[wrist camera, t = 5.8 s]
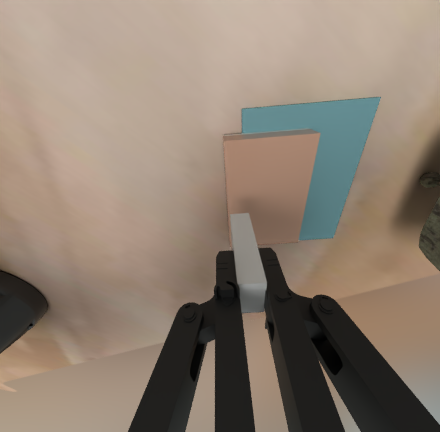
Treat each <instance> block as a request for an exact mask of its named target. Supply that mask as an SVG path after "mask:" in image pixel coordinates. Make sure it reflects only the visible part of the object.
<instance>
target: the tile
mask: <svg viewBox="0 0 440 432" xmlns="http://www.w3.org/2000/svg"><path fill="white" fill-rule="evenodd" d="M319 138H320V133H319V132H317V131H314V130H312V129H310V128H301V129H289V130H277V131H265V132H253V133H241V134H229V135H223V146H224V162H225V179H226V195H227V211H228V227H229V240H230V247H232V240H231V221H230V214H240V213H249V215H250V219H251V223H252V227H253V231H254V235H255V238H256V242H257V245H265V244H280V243H296V242H298V240H299V235H300V230H301V225H302V220H303V216H304V211H305V206H306V201H307V196H308V191H309V187H310V182H311V177H312V172H313V167H314V162H315V158H316V153H317V148H318V143H319Z"/></svg>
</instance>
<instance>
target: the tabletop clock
mask: <svg viewBox="0 0 440 432" xmlns="http://www.w3.org/2000/svg"><path fill="white" fill-rule="evenodd" d="M420 184H421V185H422V186H424V187H428V188H429V187H435V186H440V174H438V173H435V172H432V173H426V174H424V175H423V176H422V177H421V178H420ZM419 248H420V249H421V251H422V252H423V253H424V255H425V256H426V258H427V259H428V260H429V261H430V262H431V263H432V264H433V265H434V266H435V267H436V268H437V269H438V270H439V271H440V197H439V198H438V200H437V202H436V204H435V206H434V208H433V210H432V211H431V213H430V215H429V217H428V219H427V221H426V223H425V225H424V227H423V229H422V231H421V234H420V239H419Z"/></svg>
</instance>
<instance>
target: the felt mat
mask: <svg viewBox="0 0 440 432" xmlns="http://www.w3.org/2000/svg"><path fill="white" fill-rule="evenodd" d="M380 98H381V97H373V98H362V99H350V100H338V101H327V102H315V103H304V104H292V105H280V106H269V107H257V108H246V109H242V133H253V132H265V131H277V130H289V129H301V128H310V129H312V130H314V131H317V132H319V133H320V138H319V143H318V148H317V153H316V158H315V162H314V167H313V172H312V177H311V182H310V187H309V191H308V196H307V201H306V206H305V211H304V216H303V220H302V225H301V230H300V235H299V240H311V239H327V238H333V237H334V234H335V231H336V228H337V225H338V222H339V219H340V216H341V213H342V210H343V207H344V204H345V202H346V199H347V196H348V193H349V190H350V187H351V184H352V181H353V178H354V175H355V172H356V169H357V166H358V163H359V160H360V157H361V154H362V151H363V148H364V146H365V143H366V140H367V137H368V134H369V131H370V128H371V125H372V122H373V119H374V116H375V113H376V110H377V107H378V104H379V101H380Z"/></svg>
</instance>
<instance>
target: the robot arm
mask: <svg viewBox="0 0 440 432" xmlns="http://www.w3.org/2000/svg"><path fill="white" fill-rule="evenodd" d="M230 221H231V240H232V250H233V251H219V253H218V255H217V257H216V285H215V288H214V296H213V298H212V299H210V300H209V301H207V302H205V303H202V304H200V305H198V304H196V303H187V304H184V305H183V306H182V307H181V308H180V309H179V311H178V312H177V314H176V317H175V319H174V322H173V324H172V327H171V329H170V331H169V334H168V336H167V339H166V341H165V343H164V346H163V349H162V351H161V353H160V356H159V358H158V360H157V363H156V365H155V368H154V370H153V373H152V375H151V377H150V380H149V382H148V385H147V387H146V389H145V392H144V395H143V397H142V399H141V402H140V404H139V406H138V409H137V411H136V414H135V416H134V418H133V421H132V423H131V426H130V428H129V430H128V432H185V430H186V426H187V422H188V418H189V414H190V410H191V406H192V402H193V398H194V394H195V390H196V386H197V382H198V378H199V374H200V370H201V366H202V362H203V358H204V354H205V350H206V346H207V343H208V342H210V341H212V340H214V339H215V432H255V425H254V416H253V407H252V398H251V390H250V381H249V372H248V364H247V356H246V346H245V337H244V329H243V320H242V313H251V312H264V308H265V312H266V322H265V329H267V330H268V334H269V339H270V344H271V348H272V353H273V358H274V363H275V368H276V372H277V377H278V382H279V387H280V392H281V396H282V401H283V406H284V411H285V416H286V420H287V425H288V430H289V432H345V430H344V428H343V425H342V422H341V420H340V417H339V414H338V412H337V409H336V406H335V403H334V401H333V398H332V396H331V393H330V390H329V387H328V385H327V382H326V379H325V377H324V374H323V371H322V369H321V366H320V363H321V364H322V366H323V368H324V370H325V371H326V373H327V375H328V376H329V378H330V380H331V381H332V383H333V385H334V387H335V388H336V390H337V392H338V393H339V395H340V397H341V399H342V400H343V402H344V404H345V405H346V407H347V409H348V411H349V412H350V414H351V415H352V417H353V419H354V421H355V422H356V424H357V426H358V428H359V429H360V431H361V432H440V425H439V424H438V422H437V421H436V420H435V419H434V418H433V416H432V415H431V414H430V413H429V412H428V411H427V409H426V408H425V407H424V406H423V404H422V403H421V402H420V401H419V400H418V398H416V396H415V395H414V394H413V392H412V391H411V390H410V389H409V388H408V386H407V385H406V384H405V383H404V382H403V381H402V379H401V378H400V377H399V376H398V375H397V373H396V372H395V371H394V370H393V369H392V367H391V366H390V365H389V364H388V363H387V361H386V360H385V359H384V358H383V357H382V355H381V354H380V353H379V352H378V351H377V350H376V349H375V347H374V346H373V345H372V344H371V342H370V341H369V340H368V339H367V338H366V336H365V335H364V334H363V333H362V332H361V330H360V329H359V328H358V327H357V326H356V324H355V323H354V322H353V321H352V320H351V319H350V317H349V316H348V315H347V314H346V313H345V311H344V310H343V309H342V308H341V307H340V305H339V304H338V303H337V302H336V301H335V300H334V299H332V298H331V297H329V296H326V295H316V296H314V297H313V299H312V298H307V297H303V296H300V295H297V294H295V293H294V292H292V291H291V290H290V289H289V287H288V286H287V284H286V281H285V278H284V275H283V272H282V270H281V267H280V264H279V261H278V258H277V256H276V253H275V252H274V251H273V250H272V249H271V248H258V246H257V242H256V238H255V235H254V231H253V227H252V223H251V219H250V215H249V213H240V214H230ZM46 311H47V303H46V300H45V299H44V297H43V296H42V295H41V294H40V293H39V292H38V291H37V290H36V289H35V288H33V287H32V286H30V285H29V284H27V283H26V282H24V281H22V280H20V279H18V278H16V277H14V276H11V275H9V274H6V273H4V272H1V271H0V353H2V352H3V351H4V350H5V349H7V348H8V347H9V346H10V345H11V344H13V343H14V342H15V341H16V340H18V339H19V338H20V337H21V336H22V335H23V334H25V333H26V332H27V331H28V330H30V329H31V328H32V327H34V326H35V325H36V324H37V323H38V321H39V320H40V319H41V317H42V316H43V315H44V314H45V312H46ZM319 361H320V363H319Z"/></svg>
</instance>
